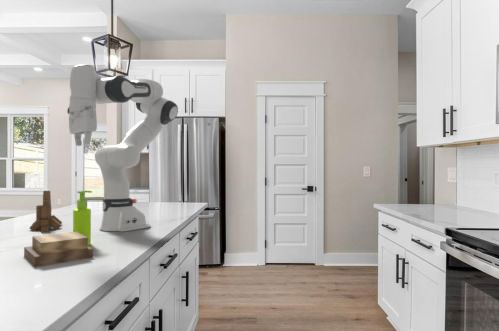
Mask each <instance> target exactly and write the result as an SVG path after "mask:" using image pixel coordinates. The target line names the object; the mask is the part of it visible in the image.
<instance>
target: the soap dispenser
mask: <svg viewBox="0 0 499 331" xmlns="http://www.w3.org/2000/svg"><path fill="white" fill-rule="evenodd" d="M85 193H93V191H92V190H78V191H77V194H79V199H77V201H76V208H74V209H73V211H72V214H73V215H72V232H78V233H80V234H82V235H84V236H86V237H88V246H90V245H91V237H92V236H91V234H92V233H91V232H92V231H91V230H92V229H91V228H92V225H91V224H92V221H91V220H92V209H91V208H88V199H86V198H85V197H86V195H85Z"/></svg>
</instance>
